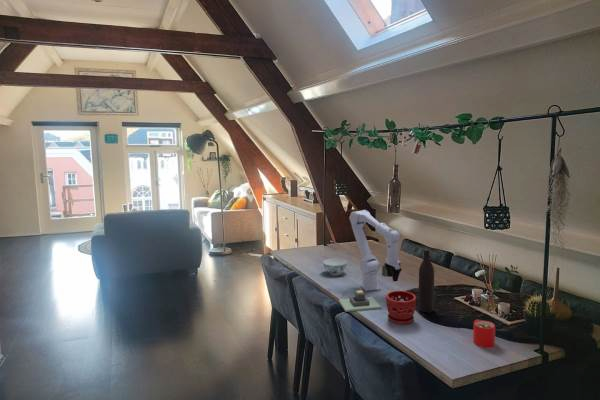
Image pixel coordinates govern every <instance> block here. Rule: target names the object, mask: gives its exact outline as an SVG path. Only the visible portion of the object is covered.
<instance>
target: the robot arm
mask: <svg viewBox="0 0 600 400" xmlns="http://www.w3.org/2000/svg"><path fill="white" fill-rule="evenodd" d="M348 218H349V221H350V224H351V229H352V231H353V235H354V238H355V241H356V242H357V246H358V249H359V252H360V254H361V255H360V256H361V259H360V261H359V264H360V270H361V272H362V277H361V278H362V284H360V286H361V287H362V288H363V290H365V292H367V291H378V290H380V288H379V287H378V272H379V270H380V268H381V265H380V262H379V260H378V259H377V257H376V256H375V255H374V254H372V250H371V248H370V246H369V243H368V239H367V237H366V234H365V232H364V229H363V228H364V225H365V224H366V223H368V225H370V226H372V227H373V228H375V230H376V233H378V234H379V235H381V236H382V237H383V238H384V240H385V245H386V258H385V262H384V263H383V265H385V267H386V270H387V275H386V276H387V277H388V278H392V281H393V282H398V280H399V276H400V275H401V271H402V270H403V269H402V268H401V267H400V265H399V263H401V261H400V260H399V241H400V240H401V233H400V232H399V230H398V229H393V228H391V227H390V226H388V225H387V224H386V223H385V222H379V220H377V219H376V218H374V216H372V215H371V213H370V212H369V211H368V210H366V209H362V210H358V211H357V210H355V211H351V213H350V215H349V217H348Z"/></svg>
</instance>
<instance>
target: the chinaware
mask: <svg viewBox="0 0 600 400" xmlns="http://www.w3.org/2000/svg"><path fill="white" fill-rule="evenodd" d="M322 263H323V267H324V269H325V270H326V271H327V272H328V273H329V274H330V275H332V276H340V275H341V274H342V273H343V272H344V271H345V270H346V268H347V266H348V260H346V259H344V258H343V259H342V258H328V259H324V260H323V262H322Z"/></svg>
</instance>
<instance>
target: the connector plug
mask: <svg viewBox="0 0 600 400" xmlns="http://www.w3.org/2000/svg"><path fill="white" fill-rule="evenodd" d="M354 297H355V302H357V301H365V297H366V295H365V293H364V291H363V290H361V289H360V290H355V292H354Z"/></svg>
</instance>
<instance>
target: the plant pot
mask: <svg viewBox="0 0 600 400" xmlns="http://www.w3.org/2000/svg"><path fill="white" fill-rule="evenodd" d="M385 300H386V309H387V312H388V314H387V318H388V320H389V321H390V322H392V323H395V324H397V325H407V324H411V323H412V322H413V321H414V318H415V317H414V314H415V311H416V305H417V304H416V303H417V297H416V295H415V294H414V293H412V292H409V291H405V290H393V291H392V290H391V291H390V292H387V293H386V296H385ZM400 300H402V301H400Z"/></svg>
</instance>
